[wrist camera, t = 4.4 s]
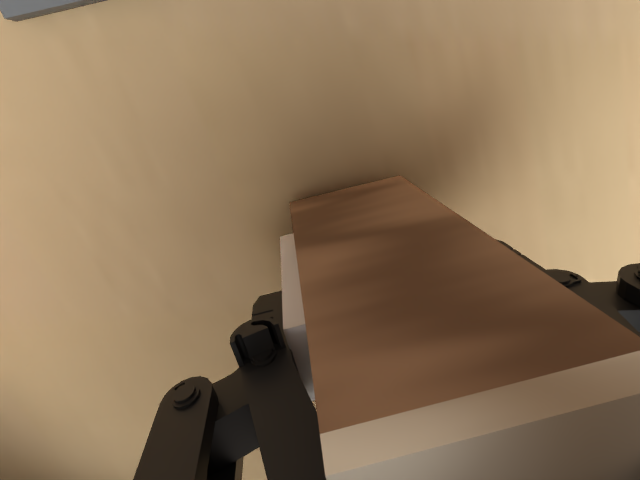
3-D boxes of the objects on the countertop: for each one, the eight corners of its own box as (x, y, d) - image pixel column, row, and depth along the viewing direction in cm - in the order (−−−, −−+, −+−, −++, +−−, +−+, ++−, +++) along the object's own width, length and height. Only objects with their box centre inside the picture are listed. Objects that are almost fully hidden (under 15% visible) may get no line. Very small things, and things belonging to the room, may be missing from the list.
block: (314, 296, 17) (381, 645, 6) (289, 202, 15) (324, 476, 4) (411, 272, 18) (640, 574, 7) (399, 175, 16) (699, 377, 5)
